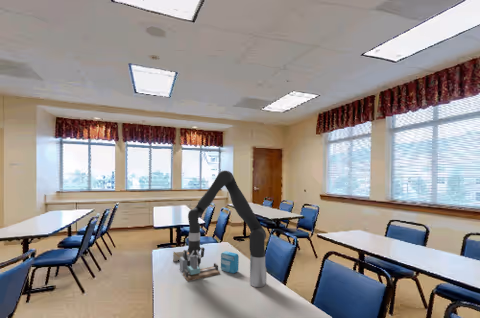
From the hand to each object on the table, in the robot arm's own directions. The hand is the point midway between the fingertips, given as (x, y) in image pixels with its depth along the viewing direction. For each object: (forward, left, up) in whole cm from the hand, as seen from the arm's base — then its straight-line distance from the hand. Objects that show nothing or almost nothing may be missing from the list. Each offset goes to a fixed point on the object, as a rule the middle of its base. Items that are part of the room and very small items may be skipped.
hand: (193, 264), depth 152 cm
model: (0, -30, -8) cm, 31 cm away
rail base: (-6, 0, -7) cm, 9 cm away
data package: (-25, +4, -7) cm, 26 cm away
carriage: (0, 0, -4) cm, 4 cm away
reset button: (-2, -13, +1) cm, 13 cm away
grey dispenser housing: (-2, -12, -7) cm, 14 cm away
